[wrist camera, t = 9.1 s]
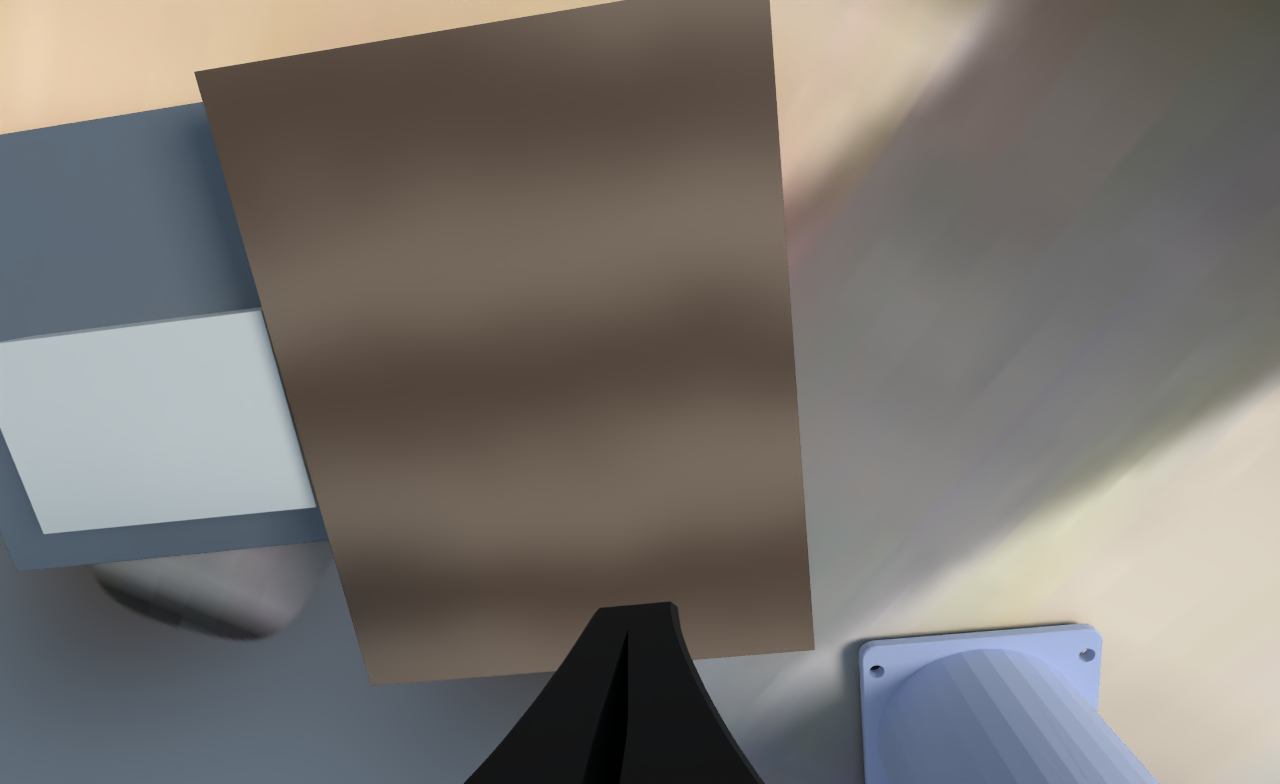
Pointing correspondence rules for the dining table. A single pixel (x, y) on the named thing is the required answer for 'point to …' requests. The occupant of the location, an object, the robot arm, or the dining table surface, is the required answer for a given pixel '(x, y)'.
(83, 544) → the mat
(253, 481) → the pale grey flat block
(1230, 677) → the dining table surface
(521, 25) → the deck
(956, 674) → the robot arm
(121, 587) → the dining table surface
